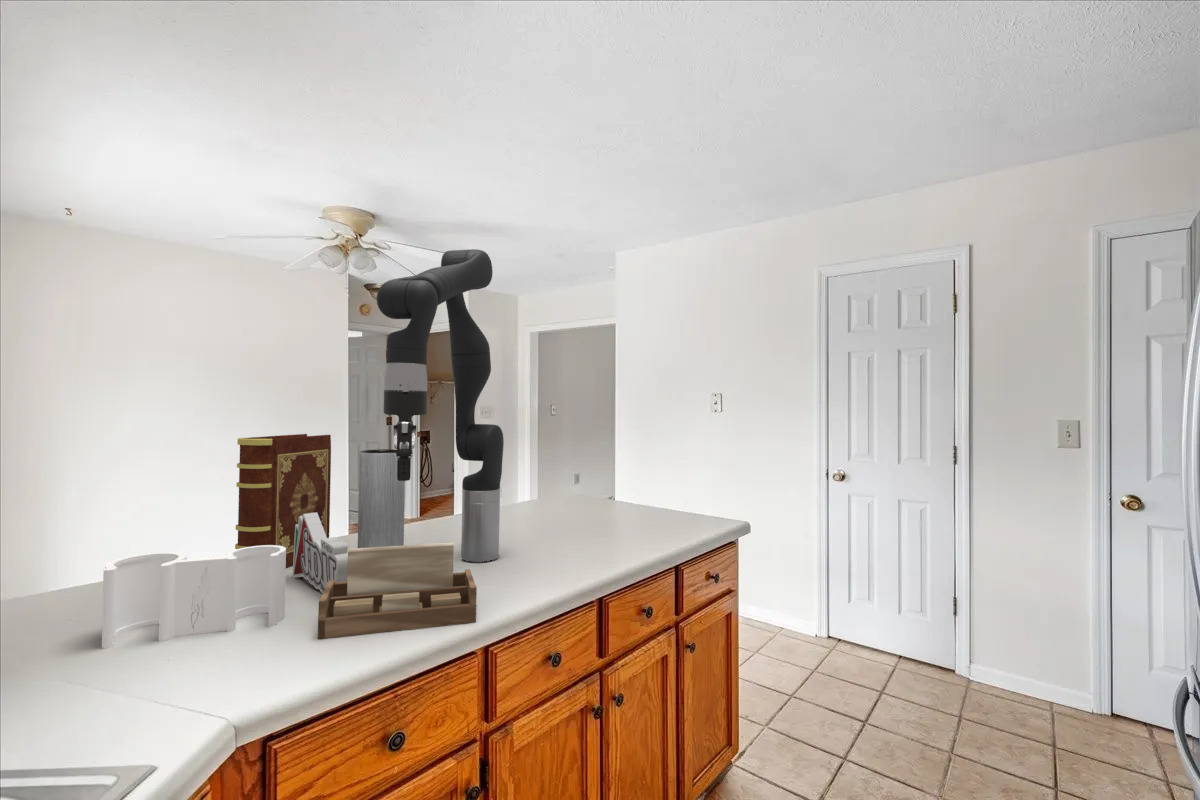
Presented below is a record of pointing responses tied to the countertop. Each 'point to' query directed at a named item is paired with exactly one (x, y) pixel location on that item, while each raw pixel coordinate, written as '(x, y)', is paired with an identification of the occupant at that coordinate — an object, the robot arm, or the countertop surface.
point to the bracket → (192, 591)
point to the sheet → (399, 568)
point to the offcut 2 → (445, 600)
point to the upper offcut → (400, 601)
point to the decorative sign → (318, 553)
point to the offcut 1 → (353, 607)
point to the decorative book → (281, 488)
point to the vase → (380, 500)
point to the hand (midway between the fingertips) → (404, 477)
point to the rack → (396, 619)
